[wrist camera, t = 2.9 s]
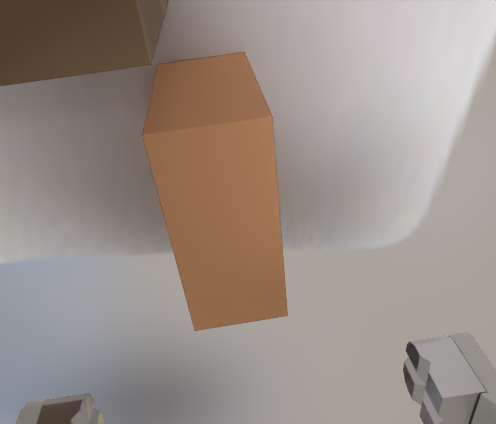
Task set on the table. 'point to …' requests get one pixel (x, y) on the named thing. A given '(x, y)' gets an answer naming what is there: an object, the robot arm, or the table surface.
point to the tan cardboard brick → (218, 188)
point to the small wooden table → (75, 37)
